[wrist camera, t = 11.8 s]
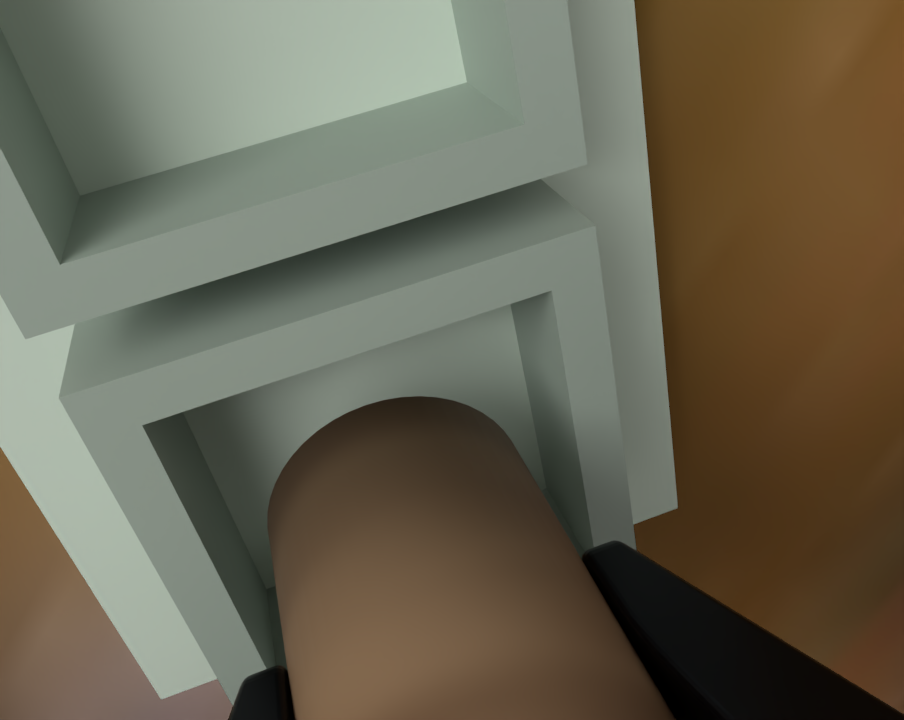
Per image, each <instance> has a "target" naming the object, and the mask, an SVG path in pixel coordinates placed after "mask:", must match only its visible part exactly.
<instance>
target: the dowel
mask: <svg viewBox="0 0 904 720" xmlns="http://www.w3.org/2000/svg"><path fill="white" fill-rule="evenodd" d="M267 528H268V535H269V542H270V549H271V557H272V564H273V571H274V578H275V585H276V592H277V599H278V606H279V613H280V620H281V628H282V635H283V642H284V649H285V656H286V663H287V670H288V677H289V684H290V691H291V698H292V706H293V713H294V720H676V718H675V717H674V715H673V713H672V712H671V710H670V708H669V706H668V705H667V703H666V701H665V700H664V698H663V696H662V695H661V693H660V691H659V690H658V688H657V686H656V684H655V683H654V681H653V679H652V678H651V676H650V674H649V673H648V671H647V669H646V668H645V666H644V664H643V662H642V661H641V659H640V657H639V656H638V654H637V652H636V651H635V649H634V647H633V646H632V644H631V642H630V640H629V639H628V637H627V635H626V634H625V632H624V630H623V629H622V627H621V625H620V624H619V622H618V620H617V618H616V617H615V615H614V613H613V612H612V610H611V608H610V607H609V605H608V603H607V602H606V600H605V598H604V596H603V595H602V593H601V591H600V590H599V588H598V586H597V585H596V583H595V581H594V580H593V578H592V576H591V574H590V573H589V571H588V569H587V568H586V566H585V564H584V563H583V561H582V559H581V558H580V556H579V554H578V552H577V551H576V549H575V547H574V546H573V544H572V542H571V541H570V539H569V537H568V536H567V534H566V532H565V530H564V529H563V527H562V525H561V524H560V522H559V520H558V519H557V517H556V515H555V513H554V512H553V510H552V508H551V507H550V505H549V503H548V502H547V500H546V498H545V497H544V495H543V493H542V491H541V490H540V488H539V486H538V485H537V483H536V481H535V480H534V478H533V476H532V475H531V473H530V471H529V469H528V468H527V466H526V464H525V463H524V461H523V459H522V458H521V456H520V454H519V453H518V451H517V449H516V447H515V446H514V444H513V442H512V441H511V439H510V438H509V437H508V435H507V434H506V433H505V431H504V430H503V429H502V428H501V427H500V426H499V425H498V424H497V423H496V422H495V421H494V420H492V419H491V418H489V417H488V416H487V415H485V414H484V413H482V412H481V411H479V410H477V409H475V408H473V407H471V406H469V405H466V404H463V403H460V402H457V401H454V400H449V399H443V398H438V397H426V396H412V397H399V398H393V399H387V400H382V401H379V402H375V403H371V404H368V405H365V406H362V407H360V408H357V409H355V410H352V411H350V412H348V413H346V414H344V415H342V416H340V417H338V418H336V419H335V420H333V421H331V422H330V423H328V424H327V425H325V426H324V427H322V428H321V429H319V430H318V431H317V432H316V433H314V434H313V435H312V436H311V437H310V438H309V439H307V440H306V441H305V442H304V443H303V444H302V445H301V446H300V447H299V448H298V450H297V451H296V452H295V453H294V454H293V455H292V456H291V458H290V459H289V461H288V462H287V463H286V465H285V466H284V468H283V469H282V471H281V473H280V475H279V477H278V479H277V481H276V483H275V485H274V488H273V491H272V494H271V497H270V501H269V507H268V512H267Z"/></svg>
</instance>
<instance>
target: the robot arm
mask: <svg viewBox="0 0 904 720" xmlns="http://www.w3.org/2000/svg"><path fill="white" fill-rule="evenodd" d="M582 561H583V563H584V564H585V566H586V568H587V569H588V571H589V573H590V574H591V576H592V578H593V580H594V581H595V583H596V585H597V586H598V588H599V590H600V591H601V593H602V595H603V596H604V598H605V600H606V602H607V603H608V605H609V607H610V608H611V610H612V612H613V613H614V615H615V617H616V618H617V620H618V622H619V624H620V625H621V627H622V629H623V630H624V632H625V634H626V635H627V637H628V639H629V640H630V642H631V644H632V646H633V647H634V649H635V651H636V652H637V654H638V656H639V657H640V659H641V661H642V662H643V664H644V666H645V668H646V669H647V671H648V673H649V674H650V676H651V678H652V679H653V681H654V683H655V684H656V686H657V688H658V690H659V691H660V693H661V695H662V696H663V698H664V700H665V701H666V703H667V705H668V706H669V708H670V710H671V712H672V713H673V715H674V717H675V718H676V720H904V714H902V713H901V712H899V711H898V710H896V709H894V708H893V707H891V706H889V705H888V704H886V703H884V702H883V701H881V700H880V699H878V698H876V697H875V696H873V695H871V694H870V693H868V692H866V691H865V690H863V689H862V688H860V687H858V686H857V685H855V684H853V683H852V682H850V681H849V680H847V679H845V678H844V677H842V676H840V675H839V674H837V673H835V672H834V671H832V670H831V669H829V668H827V667H826V666H824V665H822V664H821V663H819V662H817V661H816V660H814V659H813V658H811V657H809V656H808V655H806V654H804V653H803V652H801V651H800V650H798V649H796V648H795V647H793V646H791V645H790V644H788V643H786V642H785V641H783V640H782V639H780V638H778V637H777V636H775V635H773V634H772V633H770V632H769V631H767V630H765V629H764V628H762V627H760V626H759V625H757V624H755V623H754V622H752V621H751V620H749V619H747V618H746V617H744V616H742V615H741V614H739V613H737V612H736V611H734V610H733V609H731V608H729V607H728V606H726V605H724V604H723V603H721V602H720V601H718V600H716V599H715V598H713V597H711V596H710V595H708V594H706V593H705V592H703V591H702V590H700V589H698V588H697V587H695V586H693V585H692V584H690V583H688V582H687V581H685V580H684V579H682V578H680V577H679V576H677V575H675V574H674V573H672V572H671V571H669V570H667V569H666V568H664V567H662V566H661V565H659V564H657V563H656V562H654V561H653V560H651V559H649V558H648V557H646V556H644V555H643V554H641V553H639V552H638V551H636V550H635V549H633V548H631V547H630V546H628V545H626V544H625V543H623V542H621V541H617V540H613V541H610V542H607V543H604V544H601V545H599V546H596V547H593V548H591V549H588V550H586V551H585V552H584V553H583V555H582ZM228 720H294V713H293V706H292V698H291V691H290V684H289V677H288V670H287V669H286V668H285V667H284V666H281V665H276V666H273V667H271V668H268V669H265V670H263V671H260V672H257V673H254V674H252V675H249V676H248V677H246V678H245V679H244V680H243V682H242V683H241V686H240V688H239V691H238V694H237V696H236V699H235V702H234V705H233V707H232V710H231V713H230V716H229V719H228Z"/></svg>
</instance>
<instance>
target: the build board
mask: <svg viewBox="0 0 904 720" xmlns="http://www.w3.org/2000/svg"><path fill="white" fill-rule="evenodd" d="M412 396H426V397H438V398H443V399H449V400H454V401H457V402H460V403H463V404H466V405H469V406H471V407H473V408H475V409H477V410H479V411H481V412H482V413H484V414H485V415H487V416H488V417H489V418H491V419H492V420H494V421H495V422H496V423H497V424H498V425H499V426H500V427H501V428H502V429H503V430H504V431H505V433H506V434H507V435H508V437H509V438H510V439H511V441H512V442H513V444H514V446H515V447H516V449H517V451H518V453H519V454H520V456H521V458H522V459H523V461H524V463H525V464H526V466H527V468H528V469H529V471H530V473H531V475H532V476H533V478H534V480H535V481H536V483H537V485H538V486H539V488H540V490H541V491H542V493H543V495H544V497H545V498H546V500H547V502H548V503H549V505H550V507H551V508H552V510H553V512H554V513H555V515H556V517H557V519H558V520H559V522H560V524H561V525H562V527H563V529H564V530H565V532H566V534H567V536H568V537H569V539H570V541H571V542H572V544H573V546H574V547H575V549H576V551H577V552H578V554H579V556H580V558H581V559H582V555H583V553H584V552H585V551H586V550H588V549H591V548H593V547H596V546H599V545H601V544H604V543H607V542H610V541H613V540H617V541H621V542H623V543H625V544H626V545H628V546H630V547H631V548H633V549H635V550H636V542H635V534H634V526H633V525H634V524H636V523H639V522H642V521H644V520H647V519H650V518H652V517H655V516H658V515H661V514H663V513H666V512H669V511H671V510H674V509H677V508H678V503H677V492H676V480H675V469H674V457H673V445H672V434H671V422H670V411H669V399H668V387H667V376H666V364H665V353H664V341H663V329H662V318H661V306H660V295H659V283H658V271H657V260H656V248H655V237H654V225H653V213H652V202H651V190H650V179H649V167H648V155H647V144H646V132H645V120H644V109H643V97H642V86H641V74H640V62H639V51H638V39H637V28H636V16H635V4H634V0H0V447H1V448H2V450H3V452H4V453H5V455H6V456H7V458H8V459H9V461H10V463H11V464H12V466H13V467H14V469H15V470H16V472H17V474H18V475H19V477H20V478H21V480H22V481H23V483H24V485H25V486H26V488H27V489H28V491H29V493H30V494H31V496H32V497H33V499H34V500H35V502H36V504H37V505H38V507H39V508H40V510H41V511H42V513H43V515H44V516H45V518H46V519H47V521H48V522H49V524H50V526H51V527H52V529H53V530H54V532H55V533H56V535H57V537H58V538H59V540H60V541H61V543H62V544H63V546H64V548H65V549H66V551H67V552H68V554H69V555H70V557H71V559H72V560H73V562H74V563H75V565H76V566H77V568H78V570H79V571H80V573H81V574H82V576H83V577H84V579H85V581H86V582H87V584H88V585H89V587H90V588H91V590H92V592H93V593H94V595H95V596H96V598H97V599H98V601H99V603H100V604H101V606H102V607H103V609H104V610H105V612H106V614H107V615H108V617H109V618H110V620H111V621H112V623H113V625H114V626H115V628H116V629H117V631H118V632H119V634H120V636H121V637H122V639H123V640H124V642H125V643H126V645H127V647H128V648H129V650H130V651H131V653H132V654H133V656H134V658H135V659H136V661H137V662H138V664H139V665H140V667H141V669H142V670H143V672H144V673H145V675H146V676H147V678H148V680H149V681H150V683H151V684H152V686H153V687H154V689H155V691H156V692H157V694H158V695H159V697H160V698H161V699H164V698H167V697H169V696H172V695H175V694H178V693H180V692H183V691H186V690H188V689H191V688H194V687H196V686H199V685H202V684H205V683H207V682H210V681H213V680H215V679H218V681H219V682H220V684H221V686H222V688H223V689H224V691H225V693H226V695H227V696H228V698H229V700H230V702H231V704H232V705H234V702H235V699H236V696H237V694H238V691H239V688H240V686H241V683H242V682H243V680H244V679H245V678H246V677H248V676H249V675H252V674H254V673H257V672H260V671H263V670H265V669H268V668H271V667H273V666H276V665H281V666H284V667H285V668H286V669H287V663H286V656H285V649H284V642H283V635H282V628H281V620H280V613H279V606H278V599H277V592H276V585H275V578H274V571H273V564H272V557H271V549H270V542H269V535H268V528H267V512H268V507H269V501H270V497H271V494H272V491H273V488H274V485H275V483H276V481H277V479H278V477H279V475H280V473H281V471H282V469H283V468H284V466H285V465H286V463H287V462H288V461H289V459H290V458H291V456H292V455H293V454H294V453H295V452H296V451H297V450H298V448H299V447H300V446H301V445H302V444H303V443H304V442H305V441H306V440H307V439H309V438H310V437H311V436H312V435H313V434H314V433H316V432H317V431H318V430H319V429H321V428H322V427H324V426H325V425H327V424H328V423H330V422H331V421H333V420H335V419H336V418H338V417H340V416H342V415H344V414H346V413H348V412H350V411H352V410H355V409H357V408H360V407H362V406H365V405H368V404H371V403H375V402H379V401H382V400H387V399H393V398H399V397H412ZM636 551H637V550H636Z"/></svg>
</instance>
